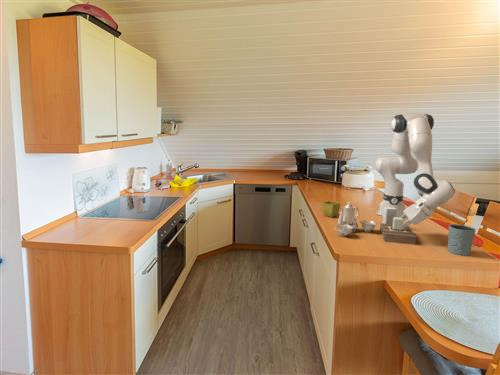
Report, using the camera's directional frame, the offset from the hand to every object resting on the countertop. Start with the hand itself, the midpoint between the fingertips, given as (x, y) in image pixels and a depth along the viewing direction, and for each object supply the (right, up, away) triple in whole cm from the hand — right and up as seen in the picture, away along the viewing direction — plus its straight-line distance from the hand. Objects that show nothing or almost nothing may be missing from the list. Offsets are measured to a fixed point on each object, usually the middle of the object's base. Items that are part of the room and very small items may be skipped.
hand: (400, 223), depth 163 cm
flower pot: (-26, 0, +42) cm, 49 cm away
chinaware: (-23, -6, +9) cm, 25 cm away
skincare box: (+1, -5, +16) cm, 17 cm away
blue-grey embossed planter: (+17, -11, -19) cm, 28 cm away
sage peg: (-1, -7, +2) cm, 8 cm away
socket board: (-1, -7, +2) cm, 8 cm away
